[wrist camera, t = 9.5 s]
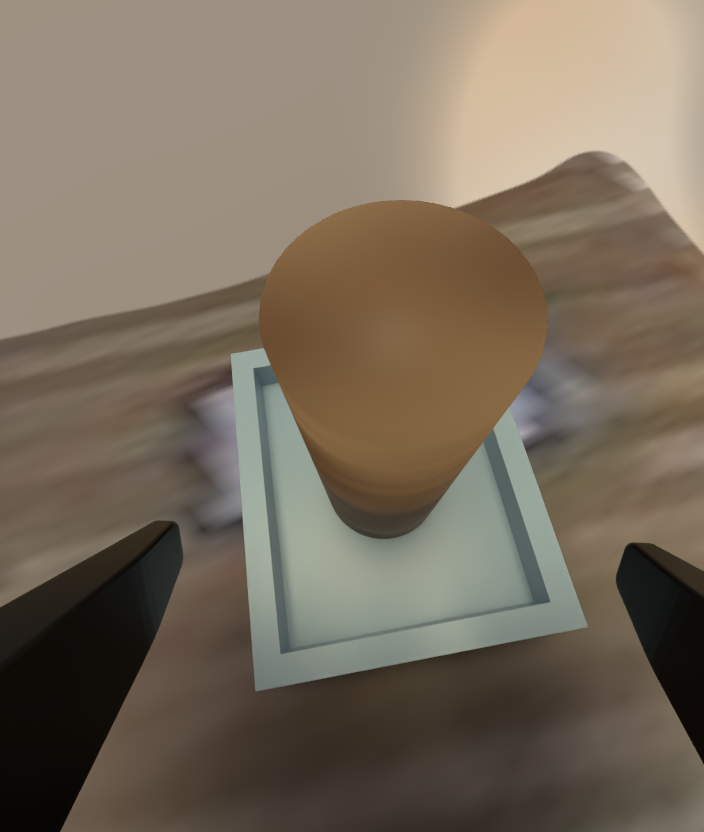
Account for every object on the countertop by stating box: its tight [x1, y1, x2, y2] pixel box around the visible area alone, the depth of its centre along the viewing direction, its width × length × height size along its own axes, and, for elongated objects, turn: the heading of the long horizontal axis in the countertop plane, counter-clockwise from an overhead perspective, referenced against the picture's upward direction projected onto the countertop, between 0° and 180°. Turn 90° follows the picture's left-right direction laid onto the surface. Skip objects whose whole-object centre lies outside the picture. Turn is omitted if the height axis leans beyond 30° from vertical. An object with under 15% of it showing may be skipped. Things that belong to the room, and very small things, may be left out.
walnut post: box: [259, 200, 548, 539], centre depth 14 cm, size 5×5×13 cm
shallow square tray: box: [231, 348, 588, 692], centre depth 20 cm, size 14×12×5 cm
